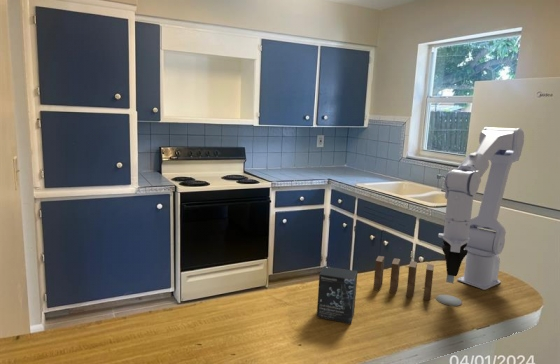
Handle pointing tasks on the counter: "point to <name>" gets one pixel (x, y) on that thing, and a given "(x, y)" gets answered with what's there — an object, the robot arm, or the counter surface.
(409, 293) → the domino
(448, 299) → the disc
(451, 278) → the domino head
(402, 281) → the counter surface
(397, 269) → the domino
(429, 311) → the counter surface
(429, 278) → the domino
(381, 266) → the domino
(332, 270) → the box
